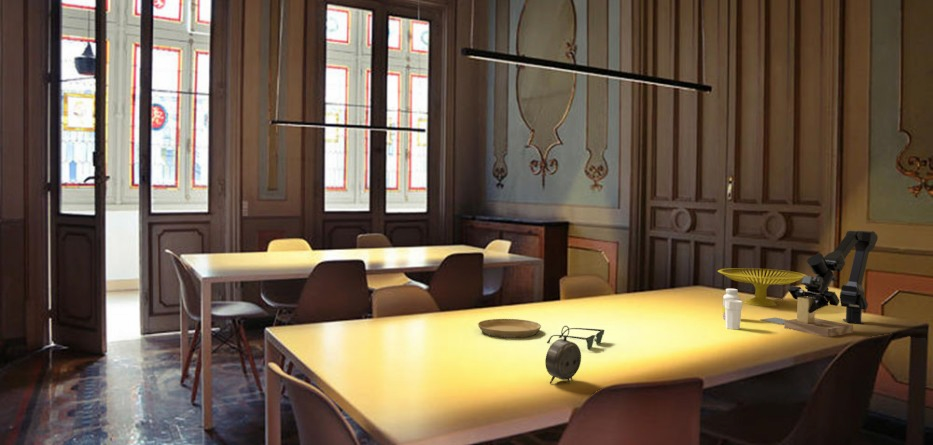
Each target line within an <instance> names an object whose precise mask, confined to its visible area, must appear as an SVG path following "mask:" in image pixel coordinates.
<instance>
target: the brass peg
mask: <svg viewBox="0 0 933 445" xmlns="http://www.w3.org/2000/svg"><path fill="white" fill-rule="evenodd" d="M814 301H815V298H811V297H808V296H807V297H798V300H797V302H796V303H797V305H796V306H797V307H796V308H797V309H796V319H797V322H799V323H804V324H813V323H814V320H815V318H816V312H815V311H814V312H812V313H809V310H810V308H811V306H812V304H813V303H814Z"/></svg>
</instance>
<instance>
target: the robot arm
mask: <svg viewBox="0 0 933 445" xmlns="http://www.w3.org/2000/svg"><path fill="white" fill-rule="evenodd" d="M878 239H879V238H878V235H877V233H876V232H875V231H873V230H847V232H845V236H844V237H843V238H842V239H841V241H840V242H839V244H838V245H837V246H836V248H835V249H834V250H833V251H832V252H829V253H827V254H826V255H825V256H823V254H822V253H818V252H816V254H814V255H812V256H810V257H808V258H807V260H806V263H807V265H808V266H809V268H810V269H811V272H812V273H813V274H815V277H814V276H810V275H807V276H803V278H802V279H801V282H800V284H801V285H804V288H805V290H804V289H802V287H801V286H797V285H796V286H795V285H790V286H789V288H788V290H787V291H788V292H789V293H790V296H791V297H792V298H793V299H794V300H796V301H798V297H811V298H815V301H814V303H813V304H812V306H811V308H810V310H809V313H812V312H814V311H818V310H820V309H822V308H824V307H827V306H829V305H830V306H835V307H837V306H838V305H839V304H840V306H841V307H845V308H846V309H845V318H842V321H843V322H845V323H846V324H865V321H863V320H862V314H863V313H862V312H863V310H867V309H868V307H869V303H868V301H867V300H866V298H865V291H864V288H863V280H864V276H865V271H866V267H867V263H868V259H869V255H870V254H869V253H870V252H871V251H872V250H874V248H875V247H876V244H877V242H878ZM854 248H855V252H854V256H853V260H852V265H851V269H850V272H849V279H848V282H847V283H846V284H843V285H842V286H841V290H840V293H839V297H838V295H837V293H836V292H835V291H831V290H829V289H830V288H829V285H830V284H831V282H836V280H837V278H836V275H835V274H834V272H835V273H836V272H838V273H839V272H842V270H843V269H844V267H845V265H846V257H848V255H849V254H850V252H851V251H852V250H853V249H854Z"/></svg>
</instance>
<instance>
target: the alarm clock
mask: <svg viewBox="0 0 933 445" xmlns="http://www.w3.org/2000/svg"><path fill="white" fill-rule="evenodd" d="M564 328H567V329H568V330H567V334H565V335H564V334H562V333H563V332H564ZM569 328H570V327H569V326H568V325H564V326H562V328H561V334H562V336H563V335H564V336H563V337H562V338H558V339H557V340H555V341H554V342H553V343H552V344H551V345H550V346H549V348H548V350H547V352H546V354H545V355H546V356H545V359H544V360H545V369H546V372H547V373H548V374H549V376H551V380H550V381H549V384H553V381H554V380H555V378H556V379H559V380H562V381H566V380H567V383H568V384H569V385H570V384H571V381H570V379H571V380H572V379H573V377H574V376H575V375H576V373H577V372H578V371H579V369H580V366H581V362H582V352H581V349H580V346H578V344H577V343H575V342H573V341H570V340H567V339H568V337H567V336H569V334H570V329H569ZM561 334H560V335H561Z"/></svg>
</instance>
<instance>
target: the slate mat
mask: <svg viewBox="0 0 933 445" xmlns="http://www.w3.org/2000/svg"><path fill="white" fill-rule="evenodd" d="M759 320H762V321H761V322H765V321H768V322H767V323H770V322H773V323H772V324H775V323H778V324H777V325H780V324H783V325H785V321H786V320H787V319H785V318H784V319H783V318H780V317H770V318H769V317H768V318H761V319H759Z"/></svg>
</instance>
